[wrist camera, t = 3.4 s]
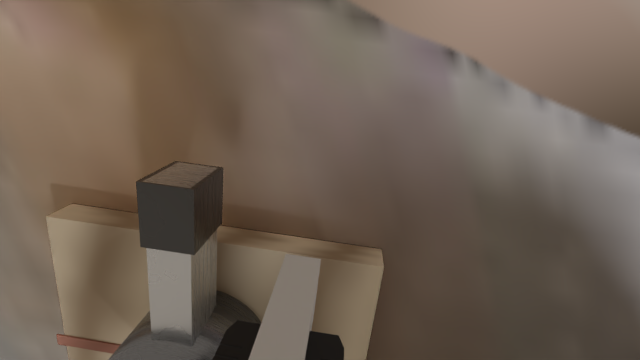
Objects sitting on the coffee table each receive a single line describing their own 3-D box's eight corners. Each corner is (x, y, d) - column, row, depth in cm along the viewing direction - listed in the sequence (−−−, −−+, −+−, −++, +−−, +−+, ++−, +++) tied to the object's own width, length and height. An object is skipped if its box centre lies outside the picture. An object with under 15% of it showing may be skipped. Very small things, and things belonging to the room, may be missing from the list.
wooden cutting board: (381, 249, 21) (384, 268, 19) (349, 414, 25) (349, 443, 23) (64, 202, 22) (36, 215, 20) (87, 368, 27) (66, 392, 25)
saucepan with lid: (265, 399, 23) (226, 540, 16) (149, 378, 23) (63, 508, 16) (284, 168, 18) (239, 232, 11) (134, 148, 18) (0, 197, 11)
